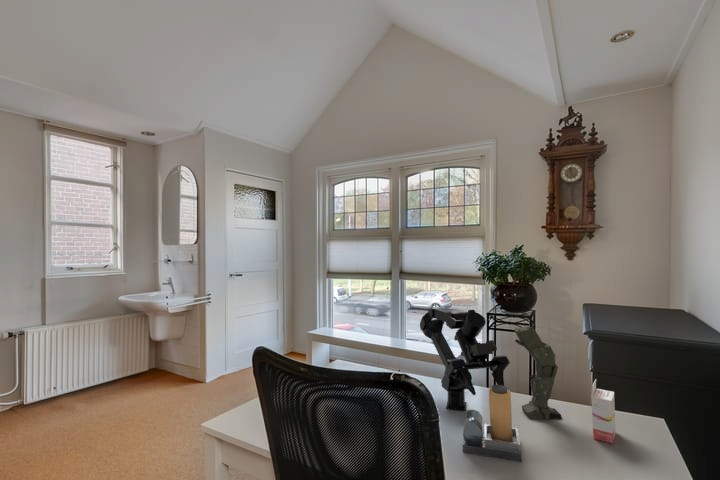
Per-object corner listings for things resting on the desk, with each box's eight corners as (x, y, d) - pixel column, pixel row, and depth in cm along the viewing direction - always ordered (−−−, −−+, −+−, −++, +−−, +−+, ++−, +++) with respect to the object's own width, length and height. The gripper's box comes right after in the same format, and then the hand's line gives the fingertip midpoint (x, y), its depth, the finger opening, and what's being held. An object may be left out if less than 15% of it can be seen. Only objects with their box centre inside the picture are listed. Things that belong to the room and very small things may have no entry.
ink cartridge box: (614, 444, 97) (611, 390, 97) (592, 439, 100) (590, 386, 100) (616, 432, 103) (614, 381, 104) (596, 427, 106) (594, 377, 107)
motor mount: (465, 431, 106) (464, 407, 106) (517, 438, 101) (516, 414, 101) (462, 452, 95) (461, 426, 95) (521, 461, 90) (520, 434, 90)
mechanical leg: (565, 407, 118) (538, 320, 120) (575, 417, 111) (547, 324, 113) (523, 416, 119) (498, 329, 121) (531, 427, 112) (504, 334, 114)
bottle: (495, 432, 101) (493, 382, 102) (515, 438, 97) (513, 386, 98) (487, 439, 97) (485, 387, 97) (507, 447, 93) (505, 393, 94)
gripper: (449, 333, 107) (469, 383, 95) (505, 329, 110) (530, 377, 99) (439, 352, 114) (456, 401, 103) (491, 348, 118) (513, 394, 107)
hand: (489, 393), depth 103 cm, fingers open, 9 cm apart
